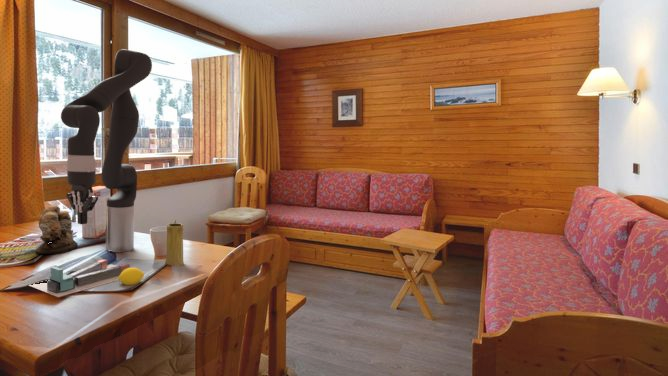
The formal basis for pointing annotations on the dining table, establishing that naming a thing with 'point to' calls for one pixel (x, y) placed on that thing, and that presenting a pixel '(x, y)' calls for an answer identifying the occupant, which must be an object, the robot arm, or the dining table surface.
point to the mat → (77, 288)
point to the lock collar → (61, 278)
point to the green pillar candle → (174, 244)
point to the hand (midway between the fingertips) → (82, 223)
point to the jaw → (91, 268)
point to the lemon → (131, 276)
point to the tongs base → (88, 278)
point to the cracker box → (97, 214)
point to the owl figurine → (55, 231)
